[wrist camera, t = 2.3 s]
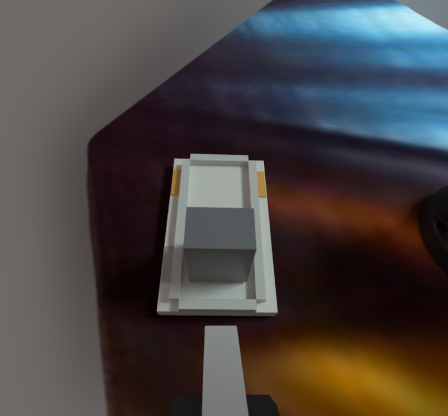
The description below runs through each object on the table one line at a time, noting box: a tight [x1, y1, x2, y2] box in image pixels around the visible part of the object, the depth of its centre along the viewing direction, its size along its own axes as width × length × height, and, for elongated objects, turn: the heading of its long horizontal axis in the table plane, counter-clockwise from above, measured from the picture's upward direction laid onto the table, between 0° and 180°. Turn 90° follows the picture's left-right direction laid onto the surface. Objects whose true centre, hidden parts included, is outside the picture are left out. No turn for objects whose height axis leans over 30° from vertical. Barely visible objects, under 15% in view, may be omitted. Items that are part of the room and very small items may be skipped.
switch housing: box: [157, 154, 277, 316], centre depth 36 cm, size 20×12×2 cm, turn 0°
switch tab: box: [183, 207, 257, 282], centre depth 29 cm, size 4×6×8 cm, turn 90°
